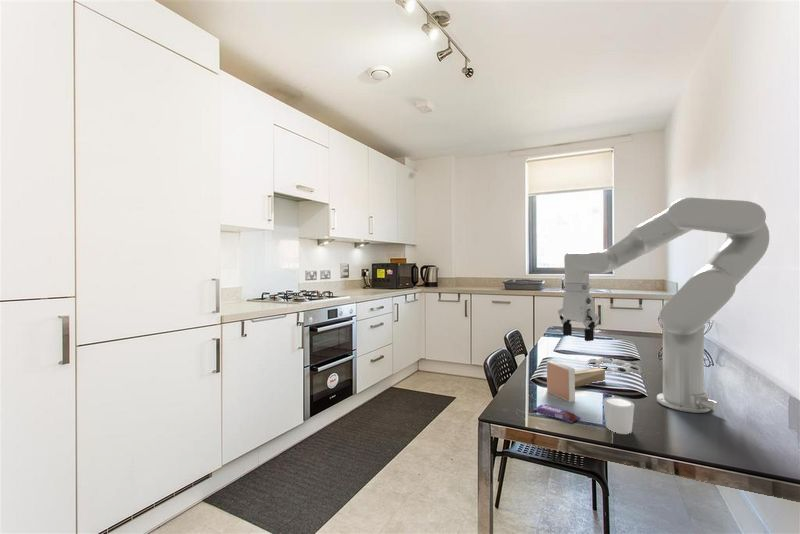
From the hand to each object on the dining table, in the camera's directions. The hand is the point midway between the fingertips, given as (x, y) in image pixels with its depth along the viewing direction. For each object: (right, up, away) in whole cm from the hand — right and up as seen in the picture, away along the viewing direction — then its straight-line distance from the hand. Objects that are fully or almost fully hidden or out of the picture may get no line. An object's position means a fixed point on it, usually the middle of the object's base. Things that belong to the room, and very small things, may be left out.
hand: (577, 337), depth 125 cm
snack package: (-17, -18, -23) cm, 34 cm away
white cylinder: (-5, -17, -32) cm, 37 cm away
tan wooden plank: (+2, -16, +1) cm, 16 cm away
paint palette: (+23, -16, +19) cm, 34 cm away
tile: (-10, -17, -9) cm, 22 cm away
